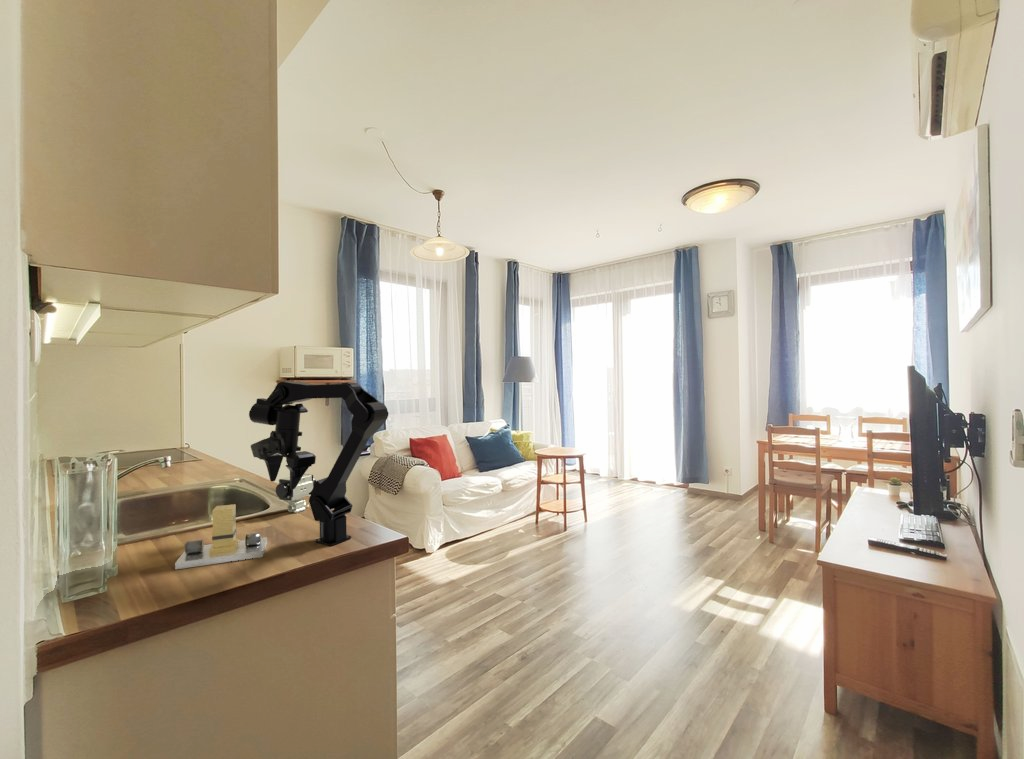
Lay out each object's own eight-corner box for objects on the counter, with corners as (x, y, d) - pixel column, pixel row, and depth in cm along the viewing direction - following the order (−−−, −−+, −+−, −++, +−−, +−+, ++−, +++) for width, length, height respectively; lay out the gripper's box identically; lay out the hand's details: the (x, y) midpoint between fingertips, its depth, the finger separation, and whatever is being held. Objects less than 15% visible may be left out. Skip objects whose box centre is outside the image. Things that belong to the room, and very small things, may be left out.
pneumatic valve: (275, 515, 138) (274, 476, 138) (306, 505, 149) (306, 469, 148) (288, 517, 136) (287, 478, 136) (318, 507, 146) (318, 470, 146)
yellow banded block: (239, 543, 111) (238, 503, 111) (235, 551, 106) (235, 508, 106) (214, 546, 109) (213, 505, 108) (209, 554, 104) (208, 511, 104)
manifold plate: (267, 542, 115) (267, 526, 115) (262, 557, 106) (262, 539, 106) (187, 553, 108) (187, 535, 108) (175, 569, 99) (175, 550, 99)
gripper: (237, 424, 118) (232, 482, 119) (278, 436, 109) (273, 499, 109) (278, 421, 128) (273, 475, 128) (319, 432, 118) (314, 491, 119)
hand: (282, 485), depth 121 cm, fingers open, 9 cm apart
